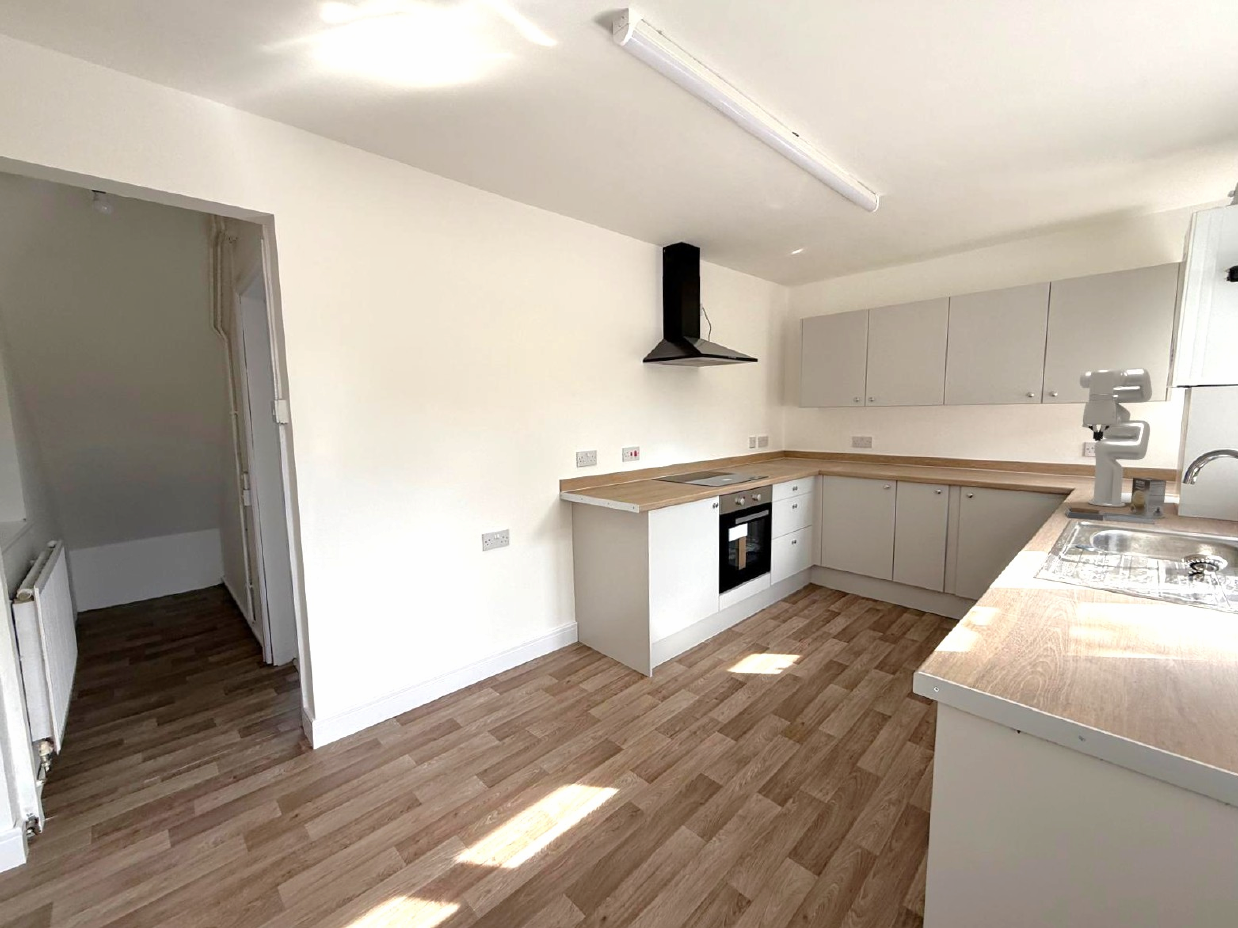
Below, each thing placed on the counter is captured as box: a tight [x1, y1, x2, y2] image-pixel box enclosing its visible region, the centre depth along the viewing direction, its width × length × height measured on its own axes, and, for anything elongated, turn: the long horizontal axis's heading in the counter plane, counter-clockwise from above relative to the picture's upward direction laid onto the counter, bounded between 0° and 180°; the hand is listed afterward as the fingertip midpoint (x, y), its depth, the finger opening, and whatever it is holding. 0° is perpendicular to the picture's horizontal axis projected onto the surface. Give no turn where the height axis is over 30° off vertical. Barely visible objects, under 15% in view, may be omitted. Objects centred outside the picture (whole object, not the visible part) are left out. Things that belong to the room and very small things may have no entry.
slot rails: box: [1101, 511, 1156, 525], centre depth 208 cm, size 10×14×2 cm
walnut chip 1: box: [1069, 505, 1084, 513], centre depth 217 cm, size 4×4×4 cm
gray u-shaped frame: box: [1064, 507, 1104, 521], centre depth 216 cm, size 12×11×2 cm
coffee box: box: [1129, 477, 1167, 519], centre depth 215 cm, size 9×6×16 cm
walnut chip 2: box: [1082, 506, 1098, 514], centre depth 215 cm, size 4×4×4 cm
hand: (1097, 440), depth 221 cm, fingers closed
